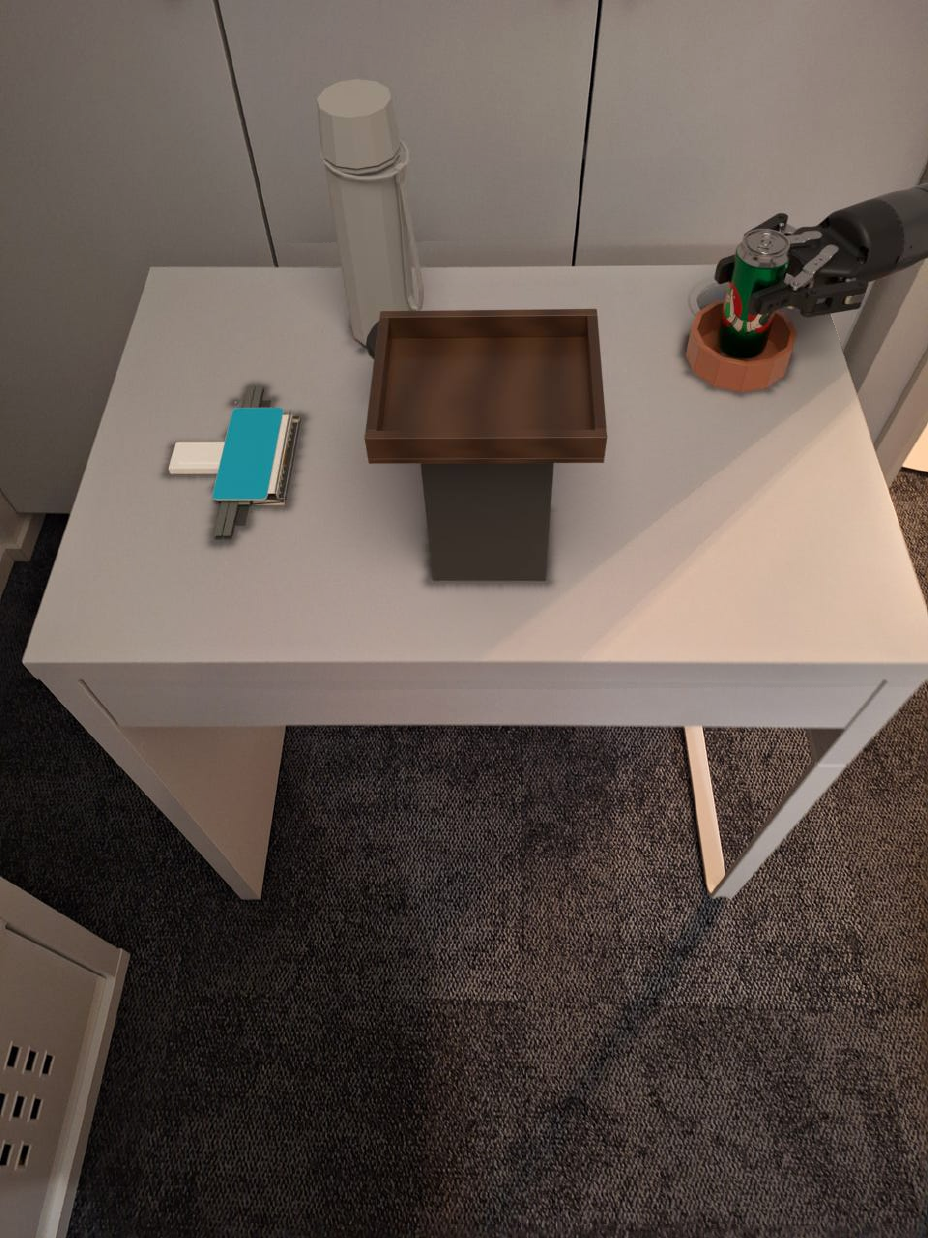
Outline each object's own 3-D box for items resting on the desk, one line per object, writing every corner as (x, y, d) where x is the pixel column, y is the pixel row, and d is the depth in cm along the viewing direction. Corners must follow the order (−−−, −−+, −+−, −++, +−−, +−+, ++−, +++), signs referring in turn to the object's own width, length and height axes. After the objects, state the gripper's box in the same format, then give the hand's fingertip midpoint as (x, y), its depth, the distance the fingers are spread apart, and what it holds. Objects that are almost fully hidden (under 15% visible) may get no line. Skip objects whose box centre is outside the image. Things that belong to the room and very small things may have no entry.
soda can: (770, 337, 95) (800, 232, 85) (757, 368, 93) (786, 263, 83) (722, 325, 96) (746, 221, 87) (708, 355, 94) (731, 251, 84)
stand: (544, 511, 85) (552, 359, 70) (545, 581, 81) (555, 434, 66) (437, 512, 86) (423, 360, 71) (433, 581, 81) (417, 435, 66)
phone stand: (193, 390, 96) (189, 378, 95) (306, 389, 95) (303, 377, 94) (152, 540, 85) (146, 528, 84) (279, 540, 84) (275, 528, 83)
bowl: (794, 336, 97) (803, 309, 94) (777, 400, 92) (786, 373, 89) (699, 317, 100) (705, 290, 97) (677, 378, 94) (682, 351, 92)
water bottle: (336, 341, 100) (292, 107, 79) (377, 301, 103) (346, 67, 82) (406, 370, 97) (380, 134, 76) (446, 327, 100) (432, 91, 79)
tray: (594, 334, 72) (597, 308, 70) (604, 463, 64) (607, 437, 62) (383, 336, 72) (379, 310, 70) (368, 463, 65) (364, 438, 63)
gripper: (842, 166, 92) (698, 215, 88) (943, 241, 84) (789, 297, 81) (821, 234, 98) (686, 282, 94) (913, 309, 90) (769, 365, 87)
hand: (734, 289), depth 87 cm, fingers closed on soda can, 5 cm apart
